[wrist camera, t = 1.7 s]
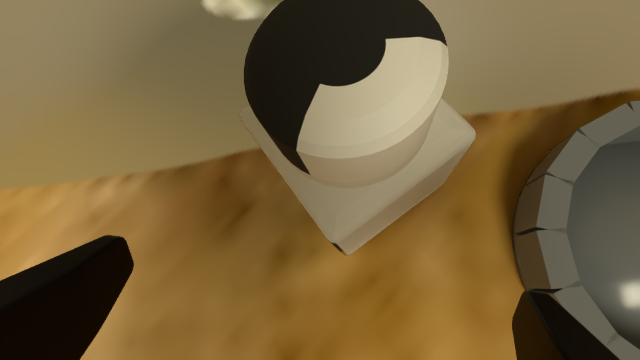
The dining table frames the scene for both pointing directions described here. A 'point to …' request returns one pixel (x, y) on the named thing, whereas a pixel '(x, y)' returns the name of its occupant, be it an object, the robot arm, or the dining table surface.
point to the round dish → (588, 228)
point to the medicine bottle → (354, 110)
